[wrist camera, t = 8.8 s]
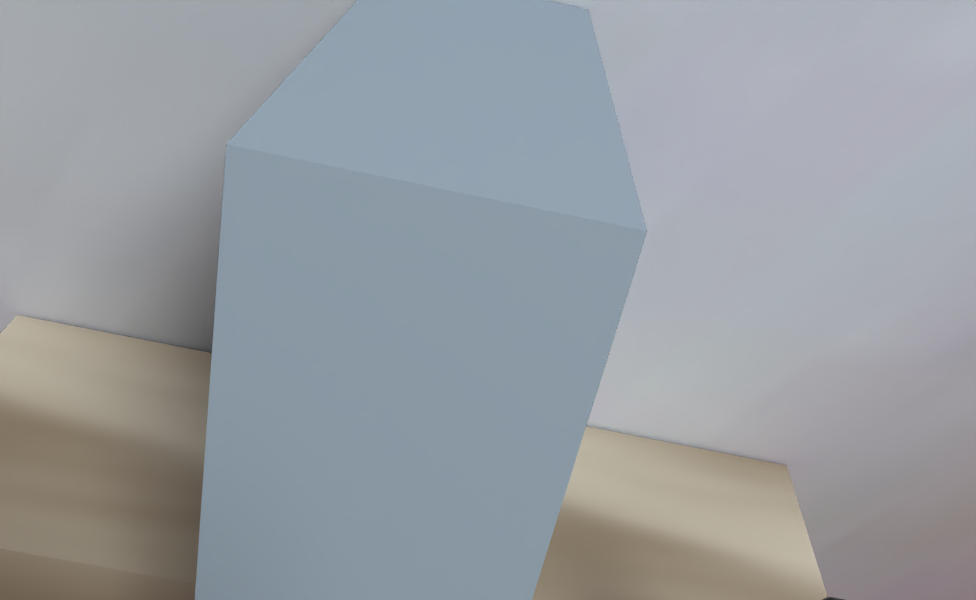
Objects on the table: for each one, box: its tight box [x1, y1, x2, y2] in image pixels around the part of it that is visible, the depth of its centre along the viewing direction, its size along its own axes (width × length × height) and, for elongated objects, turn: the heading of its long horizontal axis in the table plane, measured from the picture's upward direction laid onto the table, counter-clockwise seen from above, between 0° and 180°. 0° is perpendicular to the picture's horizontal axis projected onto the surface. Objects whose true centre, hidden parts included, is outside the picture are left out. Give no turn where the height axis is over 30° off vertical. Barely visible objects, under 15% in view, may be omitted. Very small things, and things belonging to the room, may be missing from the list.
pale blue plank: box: [195, 0, 647, 600], centre depth 12 cm, size 12×3×7 cm, turn 169°
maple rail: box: [0, 315, 827, 600], centre depth 14 cm, size 3×13×4 cm, turn 79°
